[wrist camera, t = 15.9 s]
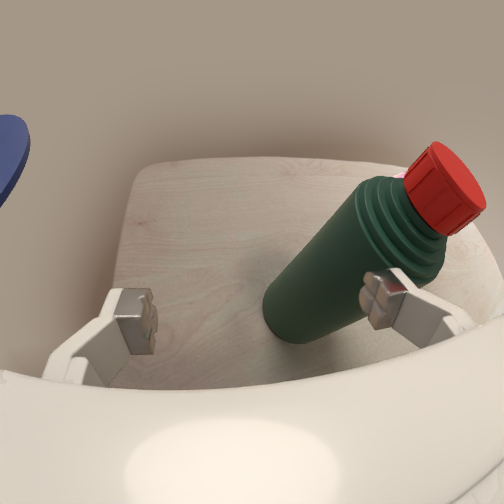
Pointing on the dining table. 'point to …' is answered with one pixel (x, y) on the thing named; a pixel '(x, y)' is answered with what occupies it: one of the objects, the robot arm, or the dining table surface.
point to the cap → (443, 190)
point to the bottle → (352, 261)
